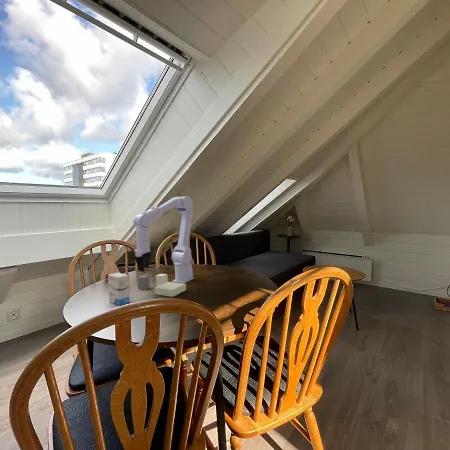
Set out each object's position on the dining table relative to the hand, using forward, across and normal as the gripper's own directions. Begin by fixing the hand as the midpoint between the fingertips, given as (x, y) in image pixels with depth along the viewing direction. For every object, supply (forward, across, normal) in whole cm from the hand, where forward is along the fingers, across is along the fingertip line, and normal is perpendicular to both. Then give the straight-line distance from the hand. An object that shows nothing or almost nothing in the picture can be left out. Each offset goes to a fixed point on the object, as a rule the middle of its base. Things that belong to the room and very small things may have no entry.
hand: (143, 269), depth 131 cm
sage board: (+10, +1, +12) cm, 16 cm away
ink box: (+11, +13, -7) cm, 18 cm away
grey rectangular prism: (+10, -6, -2) cm, 12 cm away
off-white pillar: (+10, -7, +7) cm, 14 cm away
